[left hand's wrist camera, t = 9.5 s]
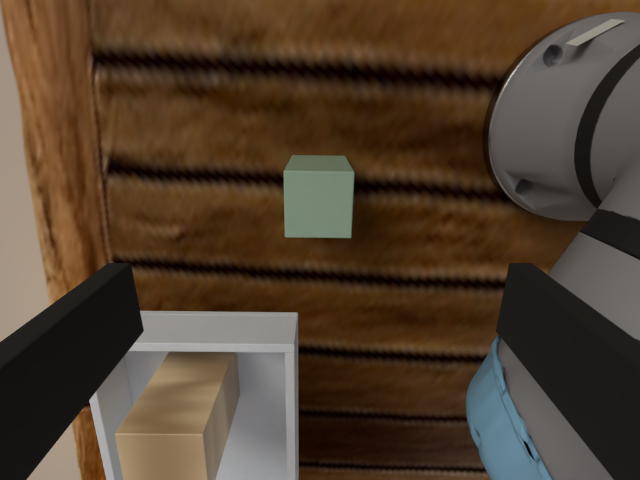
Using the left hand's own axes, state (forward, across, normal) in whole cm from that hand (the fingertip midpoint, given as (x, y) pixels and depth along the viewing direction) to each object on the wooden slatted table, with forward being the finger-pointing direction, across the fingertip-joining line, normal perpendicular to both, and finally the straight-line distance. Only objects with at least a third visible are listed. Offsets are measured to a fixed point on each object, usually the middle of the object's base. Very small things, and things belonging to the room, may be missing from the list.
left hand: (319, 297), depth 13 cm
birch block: (+10, +8, +12) cm, 18 cm away
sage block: (+20, 0, 0) cm, 20 cm away
